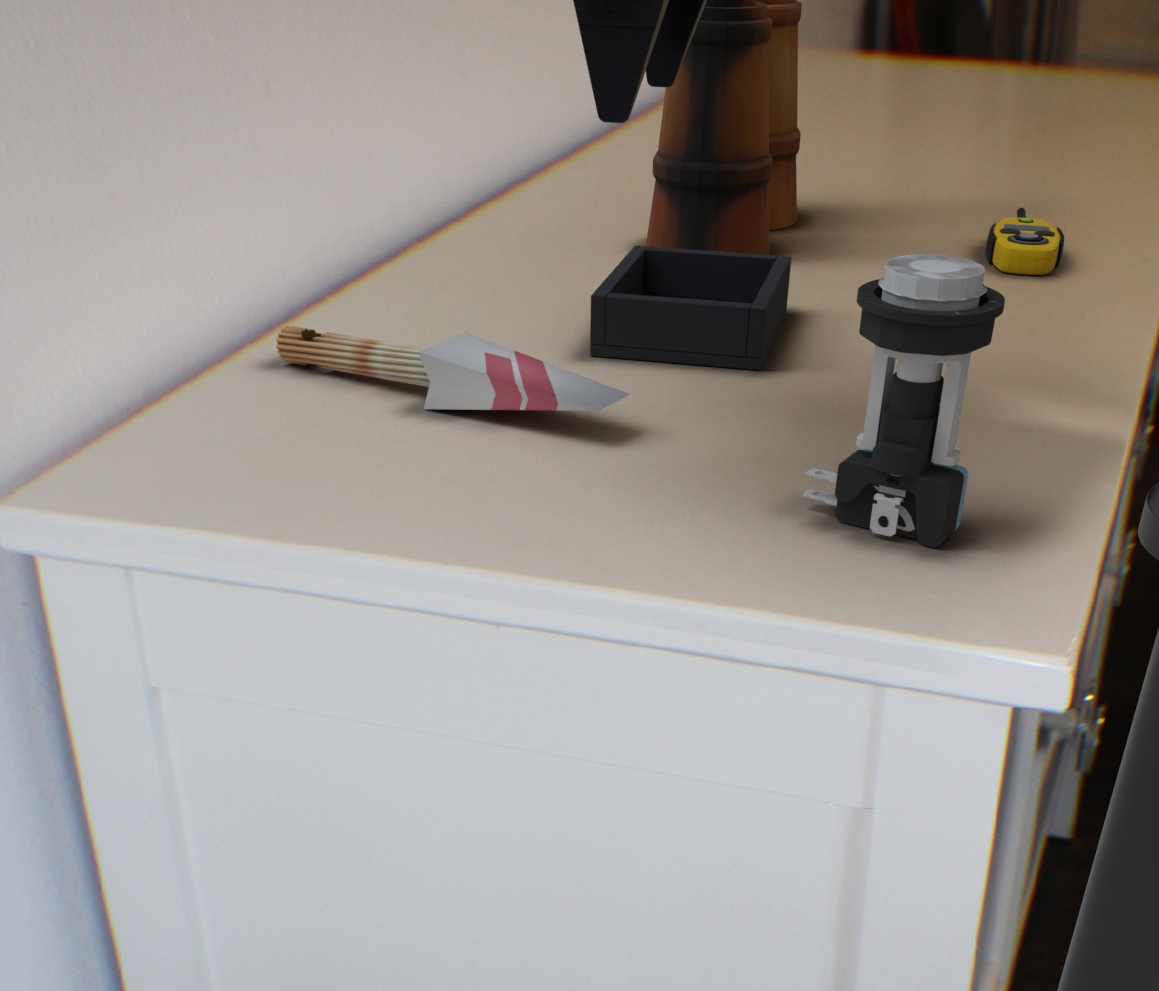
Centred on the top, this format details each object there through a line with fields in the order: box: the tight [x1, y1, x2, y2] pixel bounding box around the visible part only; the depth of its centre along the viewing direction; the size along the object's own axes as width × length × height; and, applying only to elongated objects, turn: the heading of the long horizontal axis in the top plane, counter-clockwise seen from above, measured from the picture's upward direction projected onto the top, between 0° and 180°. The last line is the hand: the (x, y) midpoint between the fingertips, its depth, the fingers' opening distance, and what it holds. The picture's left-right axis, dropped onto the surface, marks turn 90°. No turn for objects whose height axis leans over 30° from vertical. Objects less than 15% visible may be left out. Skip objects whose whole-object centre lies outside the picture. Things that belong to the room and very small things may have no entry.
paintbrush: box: [275, 325, 631, 412], centre depth 69 cm, size 4×3×20 cm
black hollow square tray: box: [589, 245, 792, 371], centre depth 78 cm, size 9×11×3 cm
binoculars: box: [645, 0, 803, 255], centre depth 92 cm, size 18×8×20 cm, turn 162°
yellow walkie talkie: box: [985, 207, 1065, 276], centre depth 95 cm, size 5×2×15 cm
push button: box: [802, 253, 1006, 549], centre depth 55 cm, size 7×5×10 cm
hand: (638, 103), depth 58 cm, fingers open, 9 cm apart
